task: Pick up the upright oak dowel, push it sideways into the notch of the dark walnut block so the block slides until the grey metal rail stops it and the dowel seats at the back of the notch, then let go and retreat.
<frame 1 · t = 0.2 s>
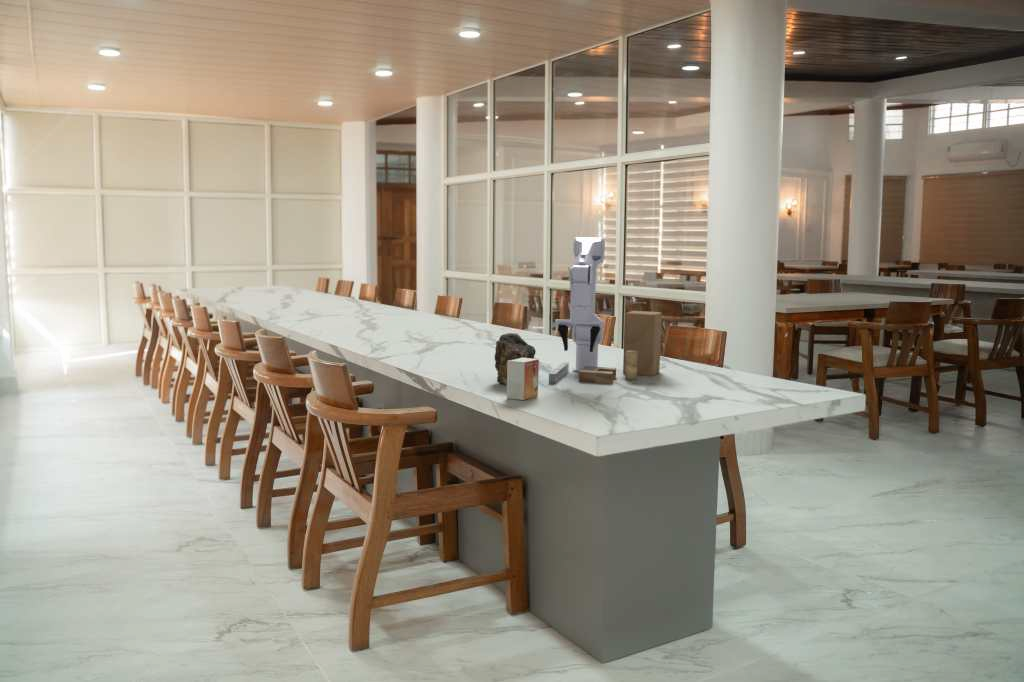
hand: (578, 351, 256), 10 cm above the table, fingers open, 7 cm apart
block: (597, 374, 265), point 2 cm above the table, slide at 0.0 cm
dowel: (630, 380, 266), on the table
small box: (522, 398, 234), on the table
rock: (515, 383, 257), on the table
rail: (559, 377, 268), on the table
wooden block: (641, 373, 280), on the table
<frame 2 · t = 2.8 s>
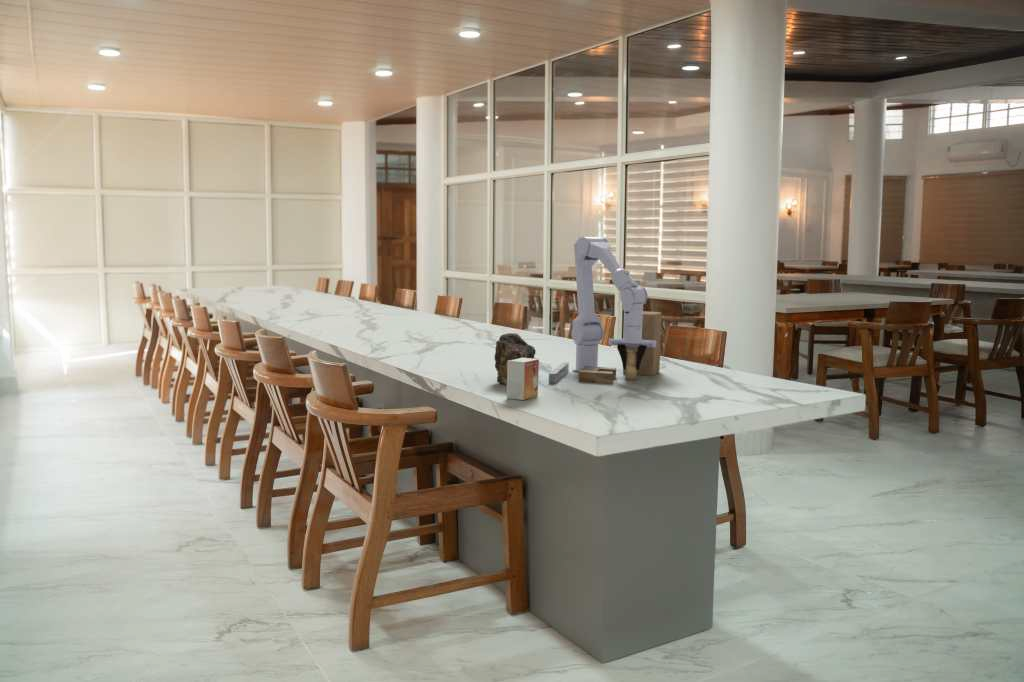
hand: (631, 369, 266), 3 cm above the table, fingers closed on dowel, 4 cm apart
dowel: (630, 380, 266), on the table, touching gripper
everything else where it was.
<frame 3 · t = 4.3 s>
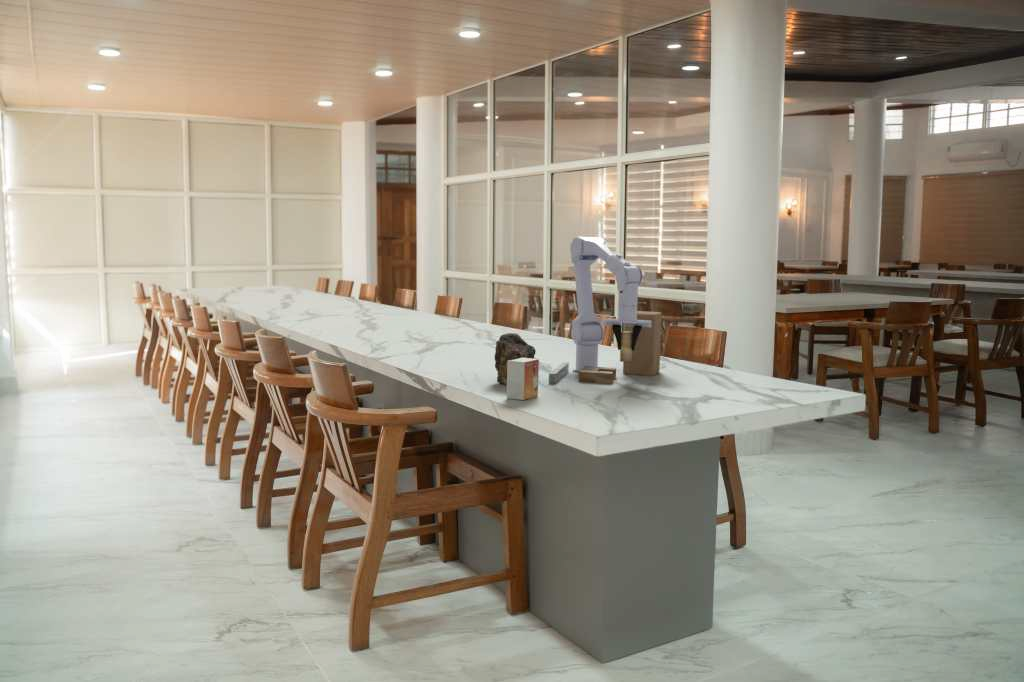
hand: (626, 349, 262), 10 cm above the table, fingers closed on dowel, 4 cm apart
dowel: (625, 361, 263), point 6 cm above the table, touching gripper
everything else where it was.
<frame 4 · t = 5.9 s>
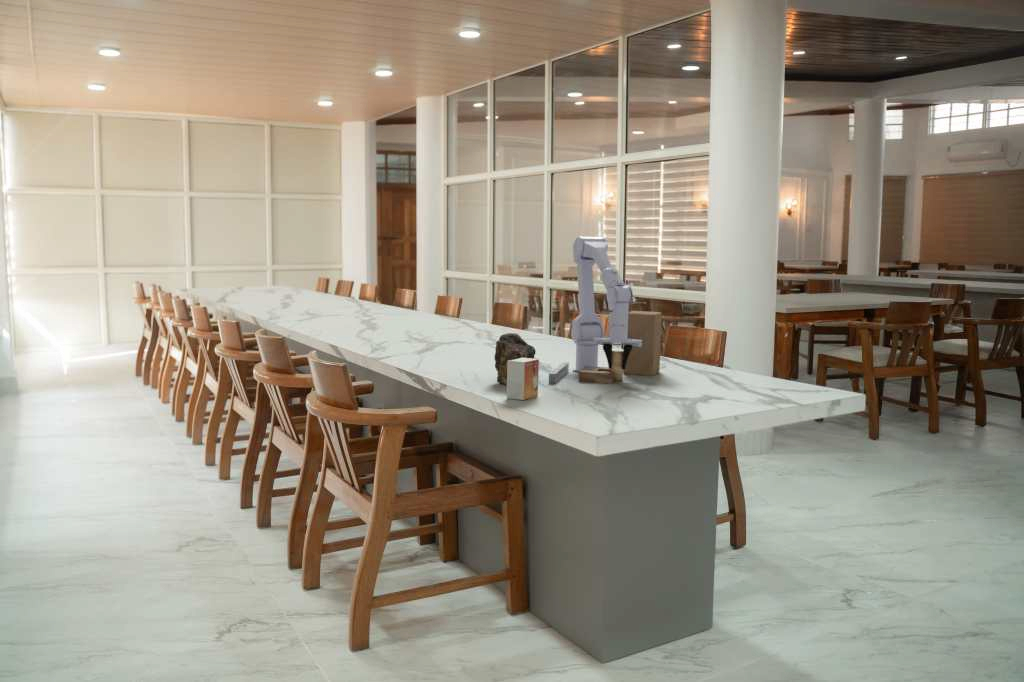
hand: (617, 368, 264), 4 cm above the table, fingers closed on dowel, 4 cm apart
dowel: (616, 380, 264), on the table, touching gripper
everything else where it was.
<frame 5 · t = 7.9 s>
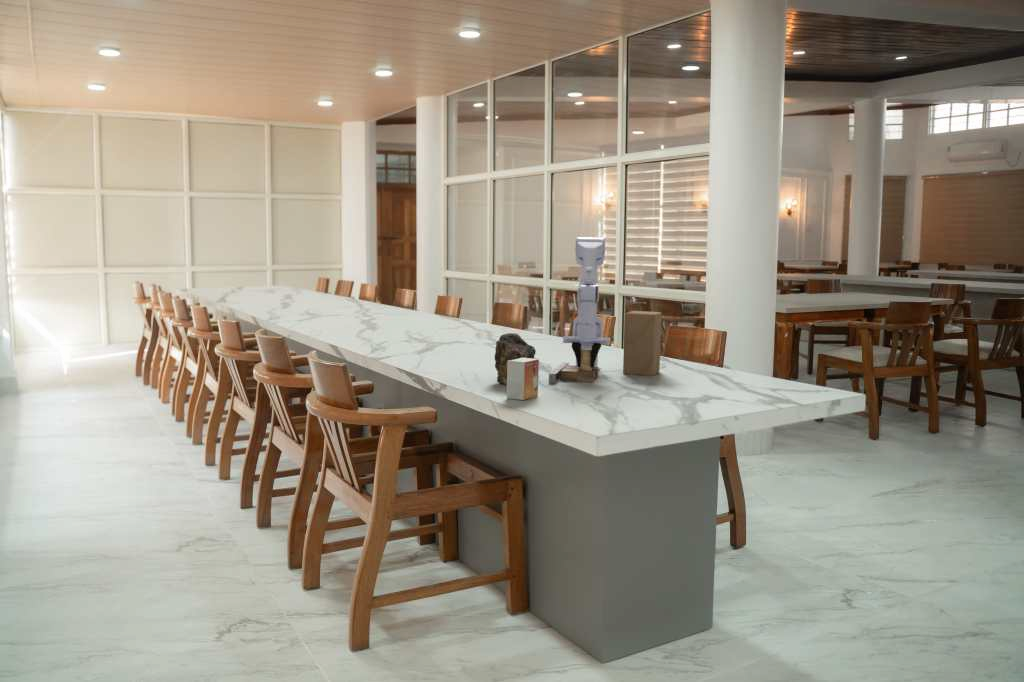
hand: (585, 366, 266), 4 cm above the table, fingers closed on dowel, 4 cm apart
block: (579, 373, 267), point 2 cm above the table, slide at 5.6 cm, touching dowel
dowel: (585, 378, 266), touching block, gripper
everything else where it was.
when the fingers open (4 cm above the table, at t = 9.3 s): dowel stays where it is, on the table.
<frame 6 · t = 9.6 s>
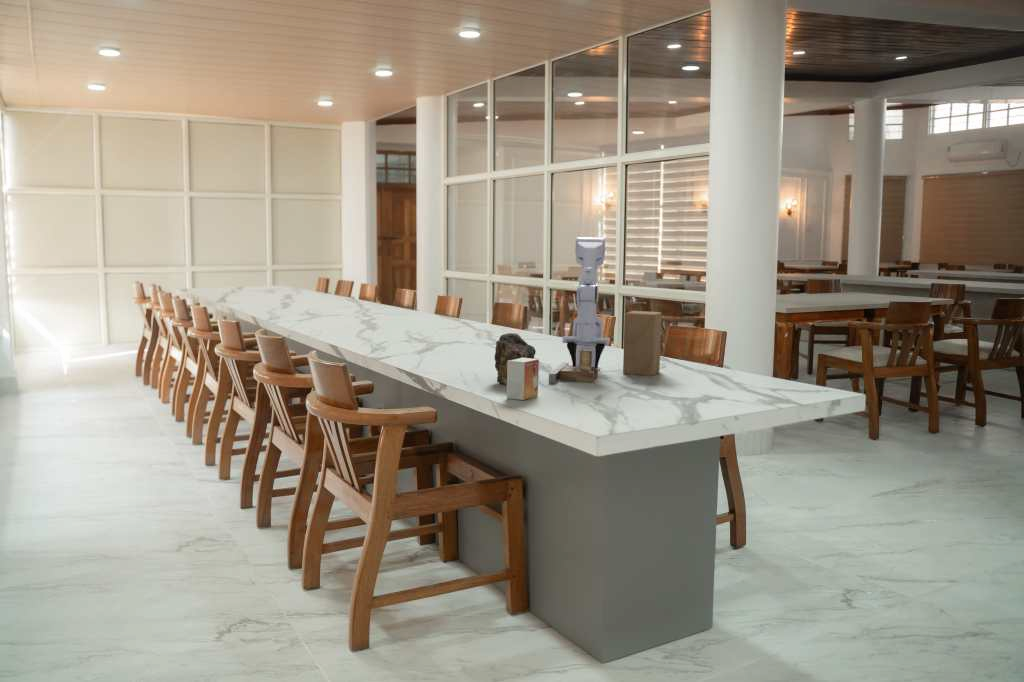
hand: (585, 366, 266), 4 cm above the table, fingers open, 6 cm apart
block: (579, 373, 267), point 2 cm above the table, slide at 5.8 cm
dowel: (585, 379, 266), on the table
everything else where it was.
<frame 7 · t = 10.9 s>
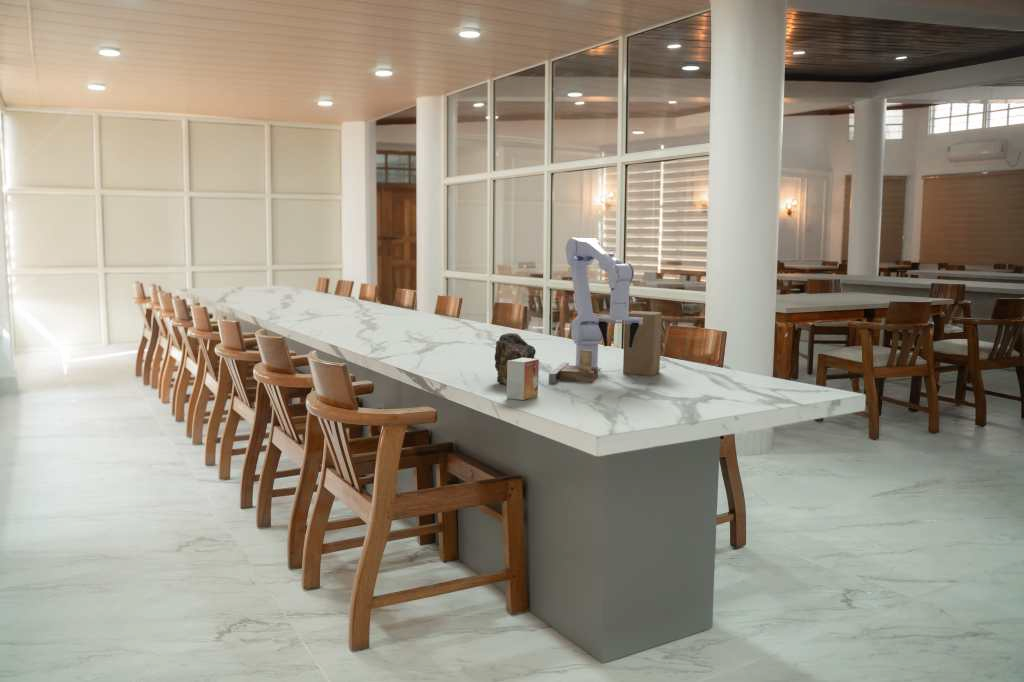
hand: (618, 346, 265), 10 cm above the table, fingers open, 7 cm apart
nothing on the table moved.
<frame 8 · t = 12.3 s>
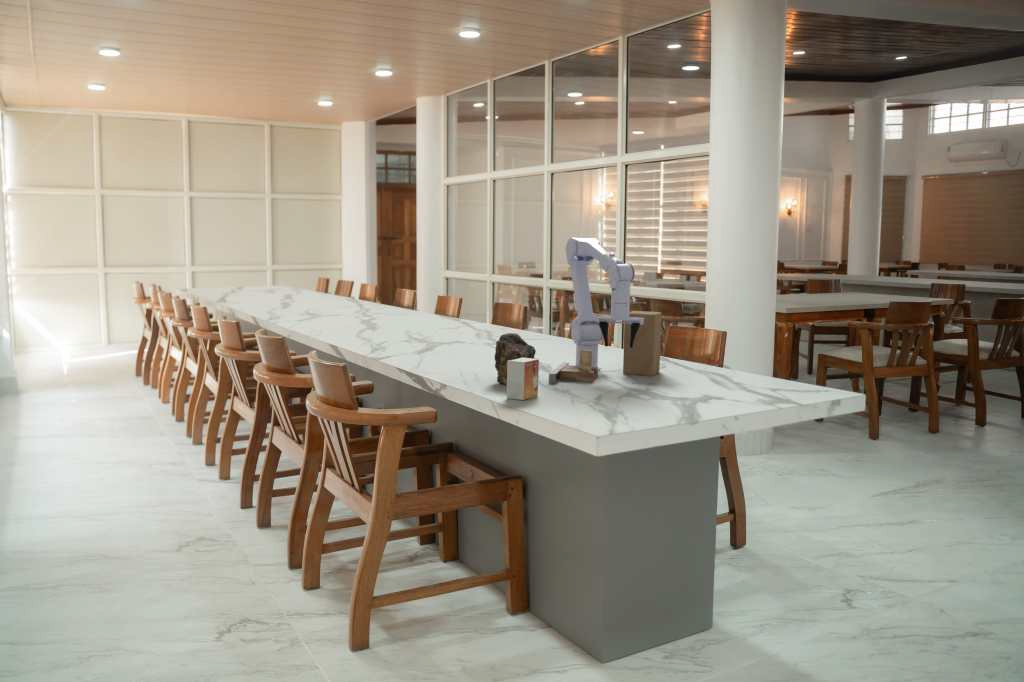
hand: (618, 346, 265), 10 cm above the table, fingers open, 7 cm apart
nothing on the table moved.
at the end: block slide at 5.8 cm; dowel 0.1 cm from the target spot on the block, point 0.0 cm above the block's base; dowel tilted 0° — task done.
